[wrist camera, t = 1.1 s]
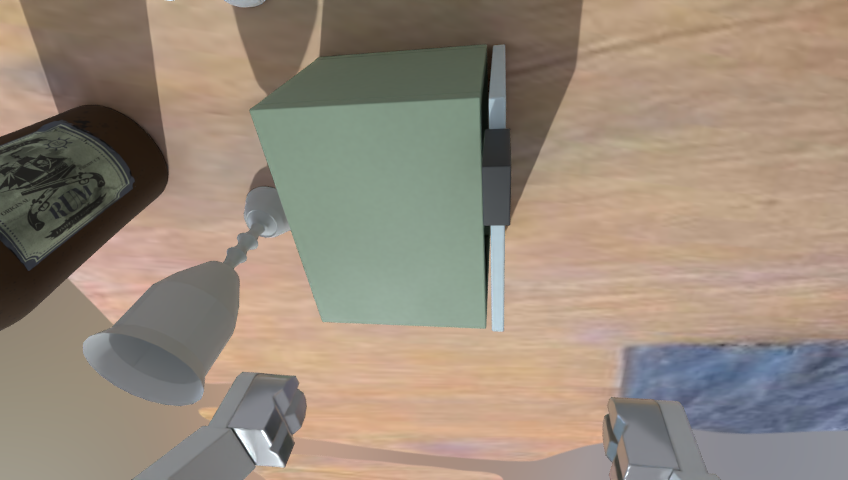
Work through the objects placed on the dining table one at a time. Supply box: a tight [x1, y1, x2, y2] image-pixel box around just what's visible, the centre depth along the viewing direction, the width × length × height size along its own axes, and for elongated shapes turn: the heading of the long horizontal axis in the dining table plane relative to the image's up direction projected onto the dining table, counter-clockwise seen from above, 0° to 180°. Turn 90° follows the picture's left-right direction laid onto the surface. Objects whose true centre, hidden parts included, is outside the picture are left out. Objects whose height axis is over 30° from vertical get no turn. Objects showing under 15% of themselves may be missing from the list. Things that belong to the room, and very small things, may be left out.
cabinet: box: [250, 44, 490, 329], centre depth 30 cm, size 12×16×11 cm
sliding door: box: [482, 45, 511, 331], centre depth 27 cm, size 1×16×15 cm, turn 6°
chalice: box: [83, 187, 291, 406], centre depth 33 cm, size 7×7×18 cm
